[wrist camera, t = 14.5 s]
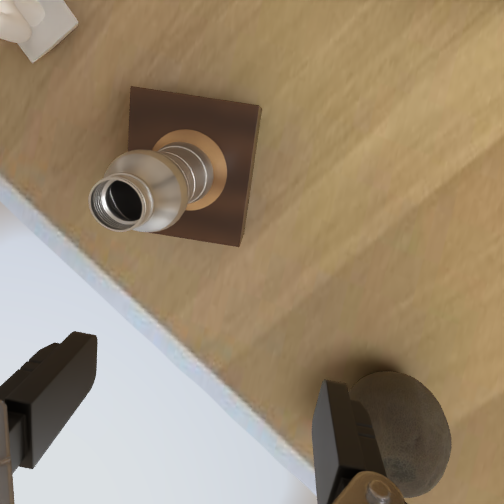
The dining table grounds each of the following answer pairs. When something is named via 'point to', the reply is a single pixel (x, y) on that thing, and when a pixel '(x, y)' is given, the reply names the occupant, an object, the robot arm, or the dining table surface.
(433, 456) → the cantaloupe
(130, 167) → the metal bottle
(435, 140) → the dining table surface
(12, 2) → the figurine
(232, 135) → the walnut box
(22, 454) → the robot arm
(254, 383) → the dining table surface
